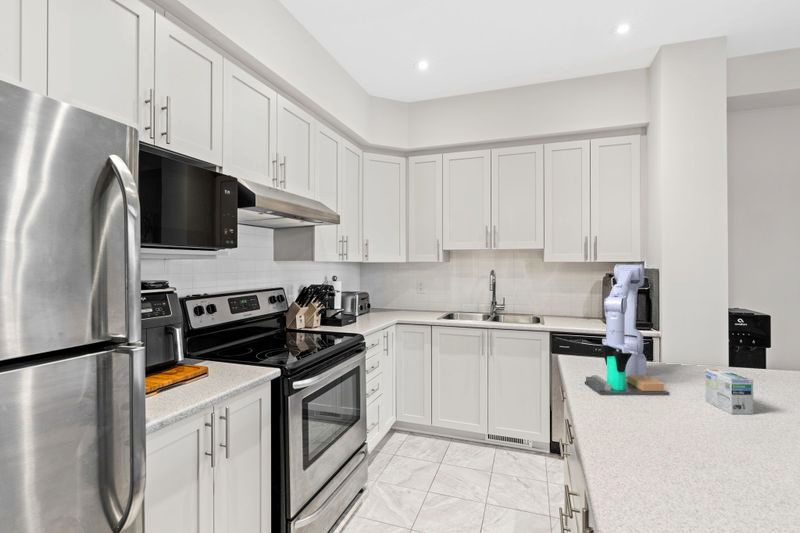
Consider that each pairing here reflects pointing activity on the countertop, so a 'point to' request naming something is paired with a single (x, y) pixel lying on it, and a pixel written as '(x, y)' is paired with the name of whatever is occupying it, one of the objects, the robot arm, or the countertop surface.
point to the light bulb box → (729, 391)
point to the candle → (615, 375)
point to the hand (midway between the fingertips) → (615, 368)
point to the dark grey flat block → (605, 389)
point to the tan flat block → (645, 383)
